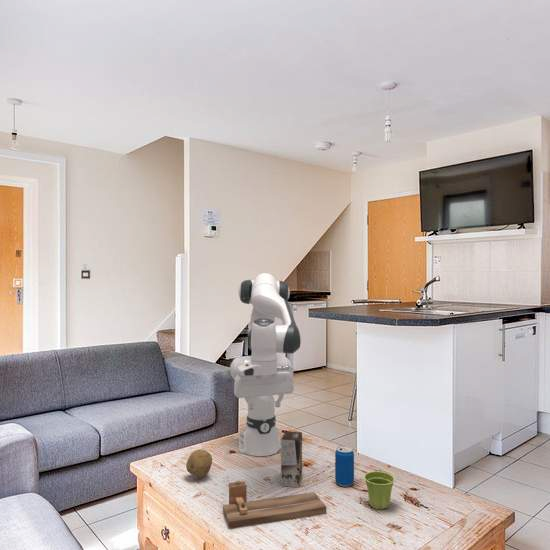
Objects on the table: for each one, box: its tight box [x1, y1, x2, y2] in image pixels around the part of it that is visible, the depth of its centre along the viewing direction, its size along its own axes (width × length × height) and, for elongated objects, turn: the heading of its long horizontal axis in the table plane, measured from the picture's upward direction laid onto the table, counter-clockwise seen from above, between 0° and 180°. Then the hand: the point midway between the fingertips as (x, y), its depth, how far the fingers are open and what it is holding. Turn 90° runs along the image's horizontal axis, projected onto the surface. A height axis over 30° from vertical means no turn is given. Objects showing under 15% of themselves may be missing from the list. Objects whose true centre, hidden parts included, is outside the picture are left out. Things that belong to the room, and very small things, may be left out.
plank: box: [222, 491, 327, 530], centre depth 141 cm, size 10×30×2 cm, turn 106°
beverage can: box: [334, 445, 355, 488], centre depth 161 cm, size 6×6×12 cm
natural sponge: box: [185, 449, 213, 479], centre depth 165 cm, size 9×9×10 cm
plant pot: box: [363, 470, 396, 510], centre depth 145 cm, size 9×9×9 cm
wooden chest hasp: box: [228, 480, 248, 514], centre depth 141 cm, size 11×5×8 cm, turn 16°
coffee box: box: [280, 431, 303, 488], centre depth 162 cm, size 9×6×16 cm
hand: (264, 408), depth 155 cm, fingers open, 8 cm apart
